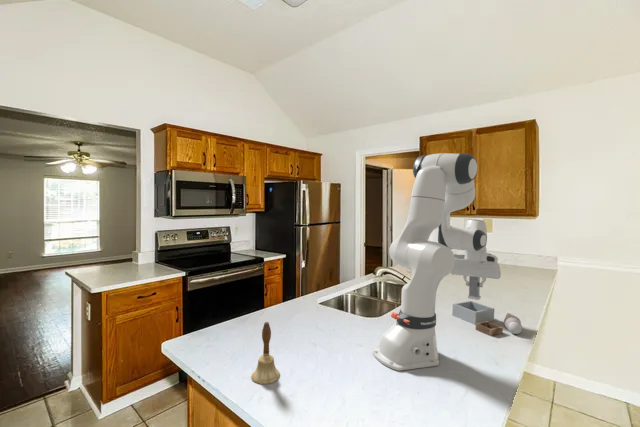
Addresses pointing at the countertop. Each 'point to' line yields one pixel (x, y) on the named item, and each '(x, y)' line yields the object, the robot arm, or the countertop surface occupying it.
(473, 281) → the strut
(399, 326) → the robot arm
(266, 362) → the hand bell
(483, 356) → the countertop surface
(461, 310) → the tub
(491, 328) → the socket ring
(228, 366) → the countertop surface
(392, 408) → the countertop surface
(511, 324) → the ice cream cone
